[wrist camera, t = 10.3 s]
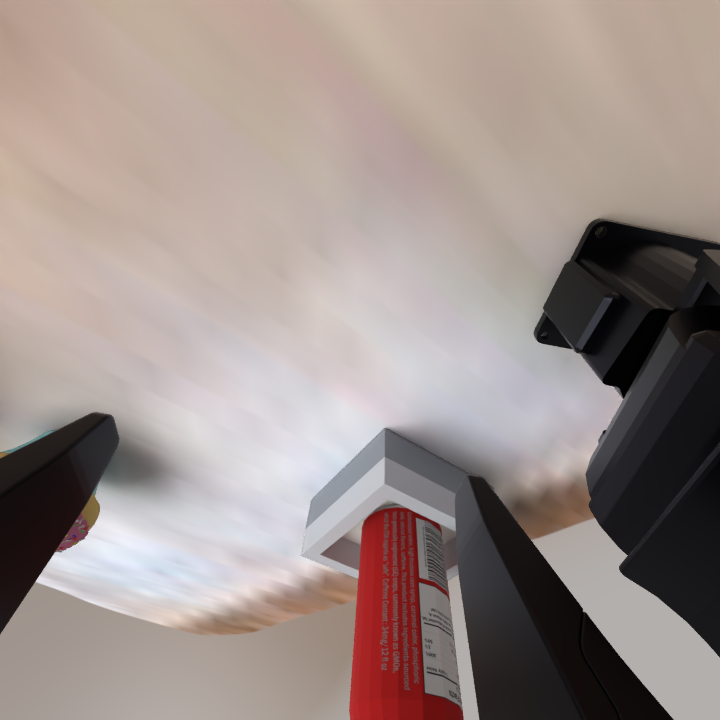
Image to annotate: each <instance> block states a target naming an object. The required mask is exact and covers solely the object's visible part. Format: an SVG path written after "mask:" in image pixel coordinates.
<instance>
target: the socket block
mask: <svg viewBox="0 0 720 720" xmlns="http://www.w3.org/2000/svg"><path fill="white" fill-rule="evenodd" d="M467 474H468V473H466V472H464V471H462V470H461V469H459V468H457V467H455V466H453V465H451V464H450V463H448V462H446V461H444V460H442V459H440V458H439V457H437V456H435V455H433V454H431V453H430V452H428V451H426V450H424V449H422V448H420V447H419V446H417V445H415V444H413V443H411V442H409V441H408V440H406V439H404V438H402V437H400V436H398V435H397V434H395V433H393V432H391V431H389V430H388V429H386V428H384V429H383V430H382V431H381V432H380V433H379V434H378V435H377V436H376V437H375V438H374V439H373V440H372V441H371V442H370V443H369V444H368V445H367V446H366V447H365V448H364V449H363V450H362V451H361V452H360V453H359V454H358V455H357V456H356V457H355V458H354V459H353V460H352V461H351V462H350V463H349V464H348V465H347V466H346V467H345V468H343V469H342V470H341V471H340V472H339V473H338V474H337V475H336V476H335V477H334V478H333V479H332V480H331V481H330V482H329V483H328V484H327V485H326V486H325V487H324V488H323V489H322V490H321V491H320V492H319V493H318V494H317V495H316V496H315V497H314V498H313V499H312V500H311V504H310V509H309V514H308V519H307V524H306V529H305V535H304V540H303V545H302V550H301V555H300V556H303V557H305V558H308V559H310V560H313V561H315V562H318V563H320V564H323V565H325V566H328V567H330V568H333V569H335V570H338V571H340V572H343V573H345V574H348V575H350V576H353V577H355V578H358V577H359V562H360V548H361V533H362V526H363V523H364V520H365V519H366V518H367V517H368V516H370V515H371V514H372V513H373V512H374V511H376V510H378V509H379V508H382V507H385V506H388V505H395V504H400V505H402V506H404V507H406V508H408V509H410V510H412V511H414V512H416V513H418V514H420V515H422V516H424V517H426V518H429V519H431V520H433V521H435V522H437V523H439V524H440V527H441V530H442V539H443V547H444V556H445V564H446V573H447V581H448V580H450V579H452V578H453V577H455V576H457V575H459V573H458V565H457V552H456V524H455V495H456V492H457V490H458V488H459V486H460V484H461V483H462V481H463V479H464V477H465V476H466V475H467ZM490 487H491V488H492V489H493V491H494V488H493V487H492V486H490Z"/></svg>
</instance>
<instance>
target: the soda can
mask: <svg viewBox="0 0 720 720" xmlns="http://www.w3.org/2000/svg"><path fill="white" fill-rule="evenodd" d="M349 712H350V720H463V710H462V702H461V693H460V685H459V676H458V667H457V659H456V650H455V642H454V633H453V624H452V616H451V607H450V599H449V590H448V581H447V573H446V564H445V556H444V547H443V539H442V530H441V527H440V524H439V523H437V522H435V521H433V520H431V519H429V518H426V517H424V516H422V515H420V514H418V513H416V512H414V511H412V510H410V509H408V508H406V507H404V506H402V505H400V504H395V505H388V506H385V507H382V508H379V509H378V510H376V511H374V512H373V513H372V514H371V515H370V516H368V517H367V518H366V519H365V520H364V523H363V526H362V533H361V548H360V562H359V577H358V591H357V606H356V620H355V635H354V649H353V663H352V678H351V692H350V709H349Z"/></svg>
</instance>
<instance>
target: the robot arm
mask: <svg viewBox="0 0 720 720" xmlns="http://www.w3.org/2000/svg"><path fill="white" fill-rule="evenodd" d="M600 227H603V231H602V232H601V233H600V234H599V235H595V232H596V230H597V229H598V228H600ZM543 309H544V313H543V315H542V317H541V319H540V321H539V322H538V324H537V326H536V328H535V330H534V337H535V338H536V340H537V341H538V342H539V343H542V344H547V345H552V346H558V347H563V348H568V349H573V350H574V351H575V352H576V353H579V354H581V356H582V357H583V358H584V359H585V361H586V362H587V363H588V365H589V366H590V367H591V368H592V370H593V371H594V372H595V373H596V375H597V376H598V377H599V379H600V380H601V381H602V382H603V384H605V385H609V386H613V387H614V388H615V389H616V390H617V392H618V393H619V394H620V395H621V397H622V398H623V401H622V403H621V405H620V407H619V408H618V410H617V412H616V414H615V416H614V417H613V419H612V421H611V423H610V425H609V426H608V428H607V430H604V431H603V433H602V434H601V436H600V438H599V444H598V446H597V448H596V450H595V452H594V453H593V455H592V457H591V459H590V462H589V465H588V468H587V471H586V479H587V484H588V490H589V495H590V497H591V500H590V502H589V508H590V510H591V512H592V513H593V515H594V517H595V518H596V520H597V522H598V523H599V525H600V526H601V527H602V529H603V530H604V531H605V532H606V533H607V534H608V536H609V537H610V538H611V539H612V540H613V541H614V542H615V543H616V545H617V546H618V547H619V548H620V549H621V550H622V551H623V552H624V553H626V554H627V555H628V556H627V557H626V559H625V560H624V561H623V562H622V563H621V565H620V566H619V570H620V572H621V573H622V574H623V575H624V576H625V577H627V578H628V579H630V580H632V581H633V582H635V583H636V584H638V585H639V586H641V587H643V588H644V589H646V590H648V591H649V592H651V593H652V594H654V595H655V596H657V597H658V598H659V599H660V600H662V601H663V602H664V603H665V604H666V605H667V606H669V607H670V608H671V609H672V610H673V611H675V612H676V613H677V614H678V615H679V616H680V617H682V618H683V619H684V620H685V621H686V622H688V624H689V625H690V626H691V627H692V628H693V629H694V630H695V631H696V632H697V633H698V634H699V635H700V636H701V637H702V638H703V639H704V640H705V641H706V642H707V643H708V644H709V646H710V647H711V648H712V649H713V650H714V651H715V652H716V654H717V655H718V656H719V657H720V244H719V243H717V242H712V241H708V240H703V239H698V238H693V237H688V236H683V235H679V234H674V233H669V232H664V231H659V230H654V229H649V228H645V227H640V226H635V225H630V224H625V223H620V222H616V221H611V220H606V219H597V220H594V221H593V222H591V223H590V224H589V225H588V227H587V228H586V230H585V232H584V234H583V236H582V238H581V240H580V242H579V244H578V246H577V248H576V250H575V252H574V254H573V256H572V258H571V260H570V261H569V262H567V263H566V264H565V265H564V267H563V269H562V271H561V273H560V275H559V277H558V279H557V281H556V283H555V285H554V287H553V289H552V291H551V293H550V295H549V297H548V299H547V301H546V303H545V305H544V307H543ZM544 332H548V333H547V335H545V336H541V335H542V333H544ZM118 443H119V435H118V431H117V428H116V424H115V420H114V417H113V416H112V415H110V414H105V413H99V412H94V413H91V414H88V415H86V416H84V417H82V418H80V419H78V420H76V421H74V422H72V423H70V424H68V425H66V426H64V427H62V428H60V429H58V430H56V431H54V432H52V433H50V434H48V435H46V436H44V437H42V438H40V439H38V440H36V441H34V442H32V443H30V444H28V445H26V446H24V447H22V448H20V449H18V450H16V451H14V452H11V453H9V454H7V455H5V456H3V457H1V458H0V634H1V632H2V631H3V629H4V628H5V626H6V625H7V623H8V622H9V620H10V619H11V617H12V616H13V614H14V613H15V611H16V610H17V608H18V607H19V605H20V604H21V602H22V601H23V599H24V598H25V596H26V595H27V593H28V592H29V590H30V589H31V587H32V586H33V584H34V583H35V581H36V580H37V578H38V577H39V575H40V574H41V572H42V571H43V569H44V568H45V566H46V565H47V563H48V562H49V560H50V559H51V557H52V556H53V554H54V553H55V551H56V550H57V548H58V547H59V545H60V544H61V542H62V541H63V539H64V538H65V536H66V535H67V533H68V532H69V530H70V529H71V527H72V526H73V524H74V523H75V521H76V520H77V518H78V517H79V515H80V514H81V512H82V511H83V509H84V508H85V506H86V504H87V503H88V501H89V499H90V498H91V496H92V494H93V492H94V490H95V488H96V486H97V485H98V483H99V481H100V479H101V477H102V475H103V473H104V471H105V469H106V467H107V465H108V464H109V462H110V460H111V458H112V456H113V454H114V452H115V450H116V448H117V446H118ZM455 524H456V552H457V565H458V573H459V580H460V587H461V594H462V601H463V607H464V615H465V622H466V629H467V635H468V643H469V649H470V656H471V664H472V671H473V678H474V685H475V692H476V698H477V706H478V712H479V720H673V718H672V717H671V716H670V715H669V714H668V713H667V711H666V710H665V709H664V708H663V707H662V706H661V705H660V704H659V702H658V701H657V700H656V699H655V697H654V696H653V695H652V694H651V693H650V692H649V691H648V689H647V688H646V687H645V686H644V685H643V684H642V682H641V681H640V680H639V679H638V678H637V676H636V675H635V674H634V673H633V672H632V670H631V669H630V668H629V667H628V666H627V665H626V663H625V662H624V661H623V660H622V658H620V656H619V655H618V653H617V652H616V651H615V650H614V648H613V647H612V646H611V645H610V643H609V642H608V641H607V640H606V638H605V637H604V636H603V634H602V633H601V632H600V631H599V629H598V628H597V627H596V625H595V624H594V623H593V621H592V620H591V619H590V617H589V616H588V615H587V613H585V612H583V608H582V607H581V606H580V604H579V603H578V602H577V600H576V599H575V598H574V596H573V595H572V594H571V592H570V591H569V590H568V589H567V587H566V586H565V585H564V583H563V582H562V581H561V579H560V578H559V577H558V575H557V574H556V573H555V571H554V570H553V569H552V567H551V566H550V565H549V563H548V562H547V561H546V559H545V558H544V557H543V555H542V554H541V553H540V552H539V550H538V549H537V548H536V547H535V545H534V544H533V542H532V541H531V540H530V538H529V537H528V536H527V534H526V533H525V532H524V530H523V529H522V528H521V526H520V525H519V524H518V522H517V521H516V520H515V518H514V517H513V516H512V515H511V513H510V512H509V511H508V509H507V508H506V507H505V505H504V504H503V503H502V501H501V500H500V499H499V497H498V496H497V495H496V493H495V492H494V491H493V489H492V488H491V487H490V485H489V484H488V483H487V482H486V480H485V479H484V478H483V477H481V476H477V475H471V474H467V475H466V476H465V477H464V479H463V481H462V483H461V484H460V486H459V488H458V490H457V492H456V495H455Z"/></svg>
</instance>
